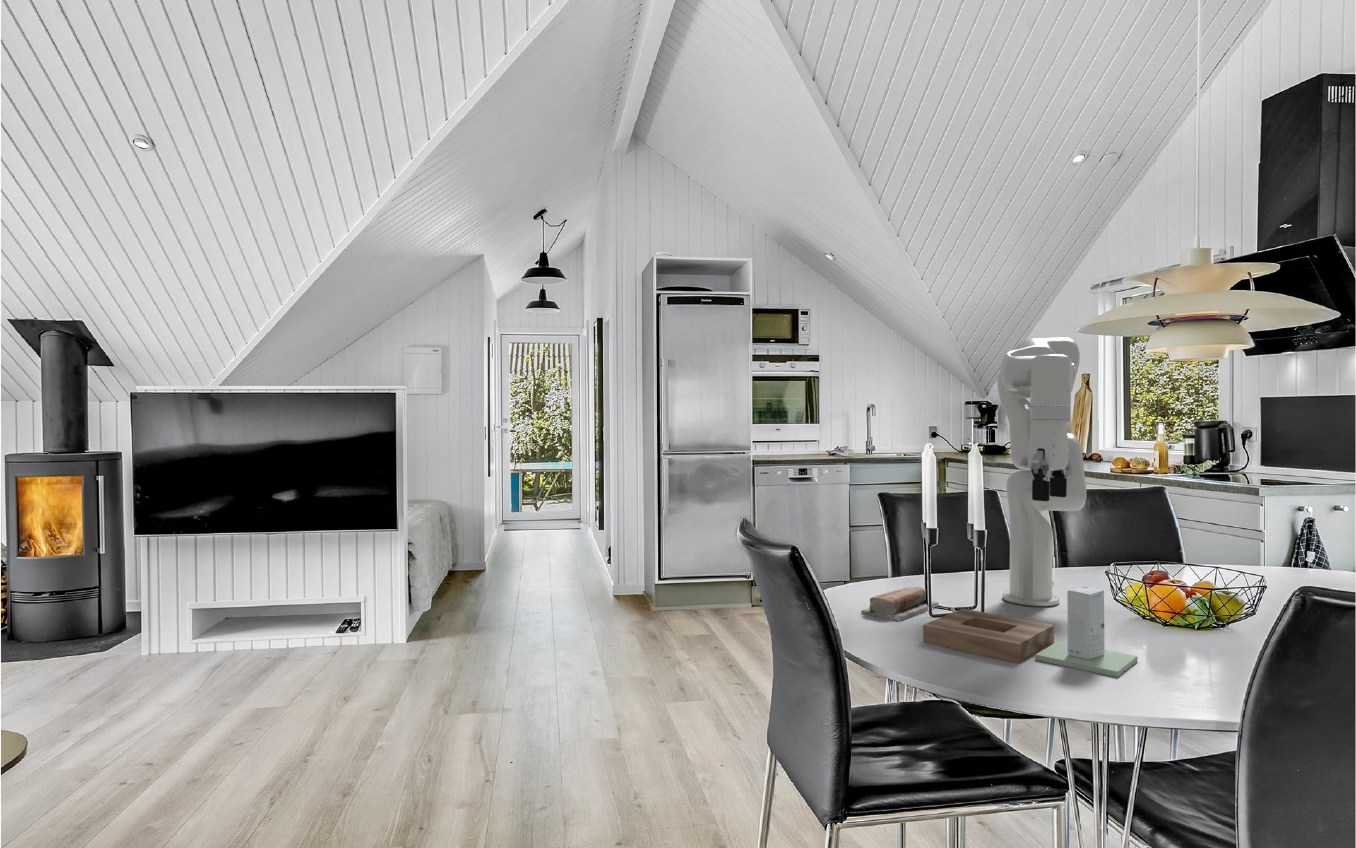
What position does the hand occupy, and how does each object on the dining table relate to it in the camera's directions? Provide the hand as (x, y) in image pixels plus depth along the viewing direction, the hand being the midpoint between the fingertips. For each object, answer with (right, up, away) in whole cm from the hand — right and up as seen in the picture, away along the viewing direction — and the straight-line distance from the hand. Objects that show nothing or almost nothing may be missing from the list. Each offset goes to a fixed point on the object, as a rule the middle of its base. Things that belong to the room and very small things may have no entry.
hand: (1049, 498), depth 166 cm
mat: (0, -29, -16) cm, 33 cm away
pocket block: (-14, -28, -4) cm, 32 cm away
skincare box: (0, -28, -15) cm, 32 cm away
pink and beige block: (-25, -29, +22) cm, 43 cm away
